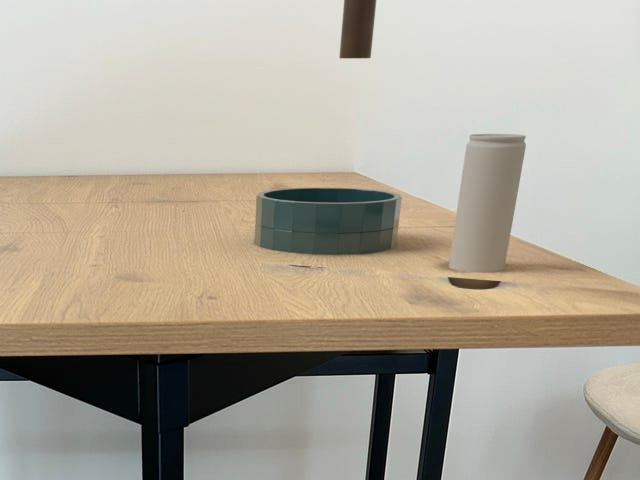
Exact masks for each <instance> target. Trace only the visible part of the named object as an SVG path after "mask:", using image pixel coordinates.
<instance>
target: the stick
mask: <svg viewBox="0 0 640 480" xmlns="http://www.w3.org/2000/svg"><path fill="white" fill-rule="evenodd" d="M376 8H377V0H343V7H342V20H341V21H342V23H341V33H340V46H339V55H338V56H339V59H346V60H347V59H359V60H360V59H371V57H372V49H373V40H374V29H375V20H376V19H375V18H376V11H377V10H376Z"/></svg>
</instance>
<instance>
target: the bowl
mask: <svg viewBox="0 0 640 480" xmlns="http://www.w3.org/2000/svg"><path fill="white" fill-rule="evenodd" d="M402 200H403V196H402V195H401V194H399V193H395V192H392V191H386V190H380V189H369V188H358V187H357V188H356V187H315V186H314V187H292V188H291V187H290V188H289V187H288V188H278V189H269V190H268V189H267V190H264V191H261V192H258V193H257V195H256V201H255V202H256V203H255V220H254V221H255V224H254V245H256V246H258V247H259V248H262V249H266V250H270V251H275V252H283V253H290V254H301V255H320V256H321V255H323V256H325V255H327V256H328V255H332V256H333V255H334V256H342V255H345V256H346V255H364V254H373V253H380V252H381V253H382V252H384V251H389V250H392V249H394V248H395V247H397V243H398V234H399V225H400V216H401V208H402ZM289 266H291V267H300V268H310V267H311V266H307V265H297V264H289ZM316 267H317V268H316V269H324V267H320V266H316Z"/></svg>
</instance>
